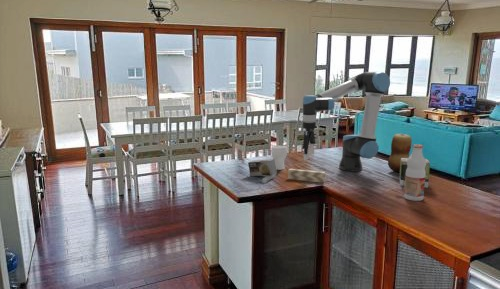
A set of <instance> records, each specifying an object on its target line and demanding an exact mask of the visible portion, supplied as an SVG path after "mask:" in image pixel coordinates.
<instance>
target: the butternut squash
mask: <svg viewBox="0 0 500 289" xmlns="http://www.w3.org/2000/svg"><path fill="white" fill-rule="evenodd" d="M411 149H412V137H411V136H410V135H409V134H404V133H395V134H394V135H393V137H392V141H391V144H390V155H389V157H388V159H387V165H388V167H389V169H390V170H391V171H392V172H394V173H400V163H401V158H409V157H410V152H411Z"/></svg>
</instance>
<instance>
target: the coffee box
mask: <svg viewBox="0 0 500 289" xmlns="http://www.w3.org/2000/svg"><path fill="white" fill-rule="evenodd" d="M247 164H248V170H249V176H250V177H261V176H267V175H274V174H276V175H277V173H278V172H277V171H278V170H276V165H275V159H273V158H270V159H256V160H252V161H248V163H247Z"/></svg>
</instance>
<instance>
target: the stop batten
mask: <svg viewBox="0 0 500 289" xmlns="http://www.w3.org/2000/svg"><path fill="white" fill-rule="evenodd" d="M275 176H277V173H276V174H274V175H265V177H263V178H262V179H261V184H266V183H268V182H269V181H270V180H271V179H273V178H274V177H275Z"/></svg>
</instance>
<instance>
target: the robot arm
mask: <svg viewBox="0 0 500 289" xmlns="http://www.w3.org/2000/svg"><path fill="white" fill-rule="evenodd" d="M390 85H391V79H390V76H389V75H388V74H387V73H386V72H383V71H364V72H362V73H359V74H357V75H355V76H352V77H350V78H349V79H348V80H347V81H345V82H342V83H340V84H337V85H336V86H333V87H331V88H329V89H326V90H325V91H321V92H320V93H317V94H315V95H314V94H306V95H304V96H303V97H302V116H301V118H302V121H303V122H302V129H305V130H304V133H303V142H302V143H303V144H302V148H301V149H303V160H305V161H306V160H309V158H310V157H309V155H315V144H316V138H315V129H316V124H317V123H316V122H317V112H324V111H332V110H333V109H335V100H338V99H340V98H342V97H343V96H346V95H349V94H351V93H358V92H361V91H364V94H365V95H366V97H365V105H364V110H363V117H362V121H361V128H360V133H358V134H346V135H343V136H342V137H343V138H342V154H341V159H340V162H339V166H338V169H340V170H342V171H346V172H359V171H362V170H363V164H362V161H361V158H363V159H368V160H370V159H373V158H374V157H375V156H377V154H378V152H379V144H378V143H377V137H376V136H375V135H376V134H375V133H376V127H377V123H378V117H379V116H378V115H379V113H380V112H379V111H380V105H381V98H382V97H384V96H385V92H386V91H387V90H388V89H389V88H390Z"/></svg>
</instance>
